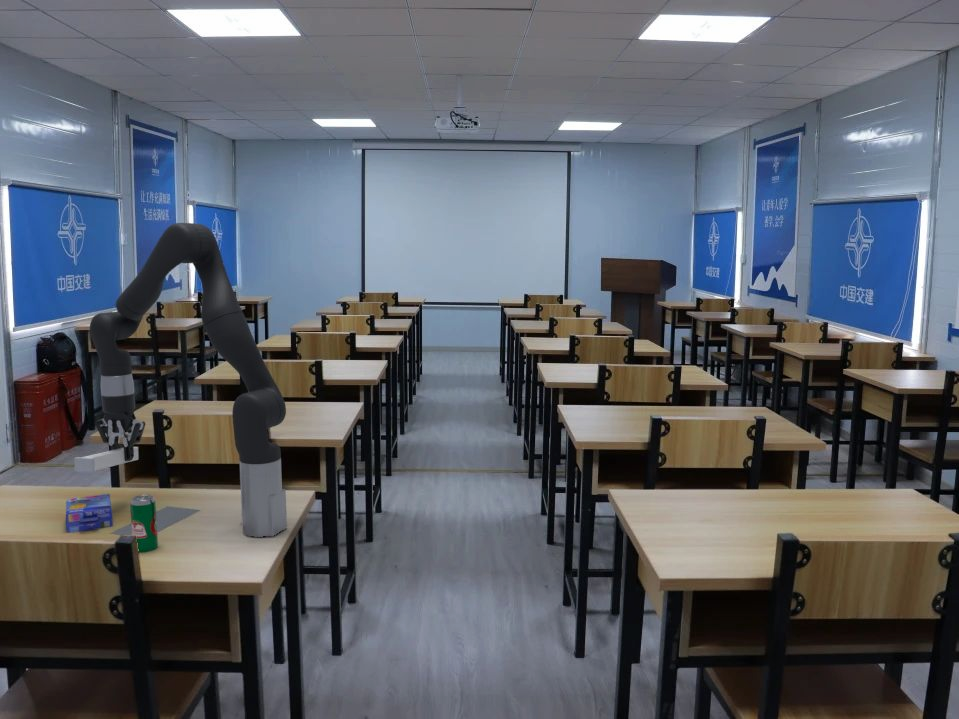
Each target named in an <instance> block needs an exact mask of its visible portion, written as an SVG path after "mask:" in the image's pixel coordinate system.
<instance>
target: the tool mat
mask: <svg viewBox="0 0 959 719" xmlns="http://www.w3.org/2000/svg"><path fill="white" fill-rule="evenodd" d="M200 511H201V509H195V508H187V507H178V506H177V507H176V506H169V505H168V506H167V505H166V506H165V507H162V508H160V509H158V510H156V518H157V533H159V532H161V531H163V530H165V529H167V528H168V527H171V526H173V525H175V524H177V523H179V522H181V521H182V520H185V519H187V518H189V517H190V516H192V515H194V514H196V513H198V512H200ZM109 534H111V535H119V536H125V535H132V523H131V522H130V523H129V524H126V525H125V526H122V527H120V528H118V529H116V530H114V531H112V532H111V531H110V533H109Z"/></svg>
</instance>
